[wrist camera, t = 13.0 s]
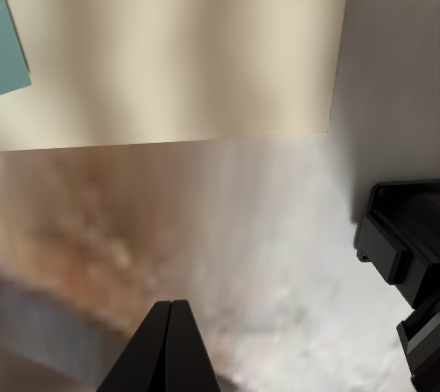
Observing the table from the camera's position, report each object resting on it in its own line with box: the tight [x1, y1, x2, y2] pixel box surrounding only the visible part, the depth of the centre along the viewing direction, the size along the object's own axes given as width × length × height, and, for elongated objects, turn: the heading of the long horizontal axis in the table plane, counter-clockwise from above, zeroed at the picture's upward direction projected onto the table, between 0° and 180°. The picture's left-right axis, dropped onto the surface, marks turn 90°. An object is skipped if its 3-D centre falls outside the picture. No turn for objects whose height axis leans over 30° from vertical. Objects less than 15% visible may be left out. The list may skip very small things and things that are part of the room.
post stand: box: [0, 0, 346, 151], centre depth 12 cm, size 24×12×8 cm, turn 92°
